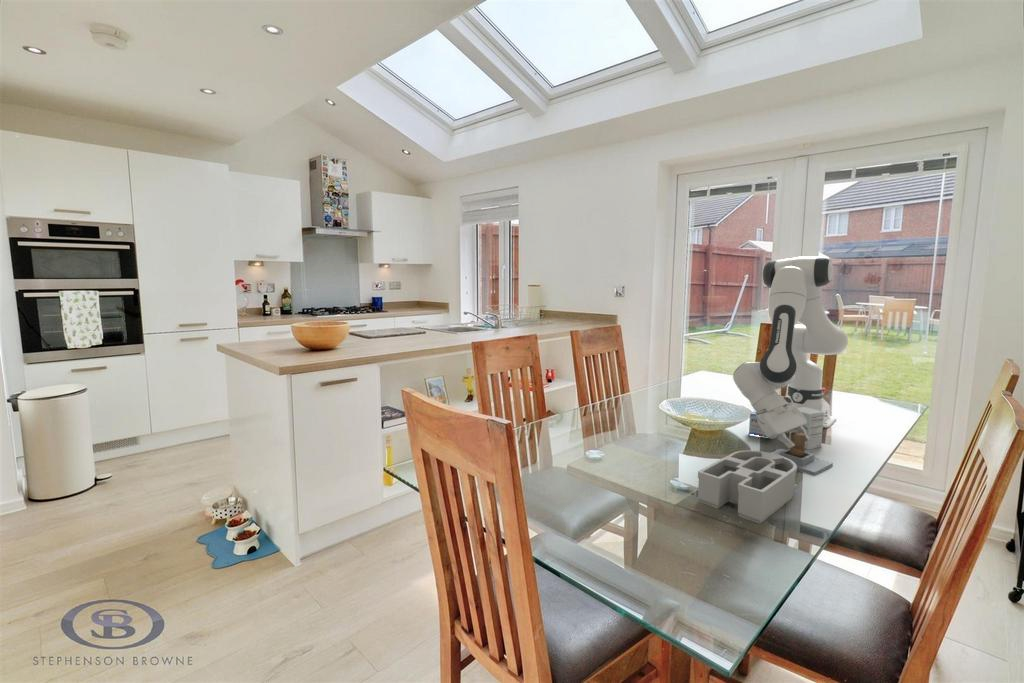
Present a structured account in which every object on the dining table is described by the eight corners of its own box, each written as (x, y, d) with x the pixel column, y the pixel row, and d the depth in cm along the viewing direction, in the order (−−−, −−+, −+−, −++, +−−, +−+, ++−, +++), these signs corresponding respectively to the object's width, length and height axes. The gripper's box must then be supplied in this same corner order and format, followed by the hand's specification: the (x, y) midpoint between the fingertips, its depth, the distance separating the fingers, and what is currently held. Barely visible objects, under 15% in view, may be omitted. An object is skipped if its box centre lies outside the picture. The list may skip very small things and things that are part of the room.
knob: (793, 455, 158) (794, 431, 157) (806, 459, 155) (808, 434, 154) (786, 458, 156) (788, 433, 155) (800, 462, 153) (801, 437, 151)
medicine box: (748, 436, 181) (749, 413, 179) (749, 433, 185) (750, 410, 183) (772, 439, 177) (774, 416, 176) (772, 436, 181) (774, 413, 180)
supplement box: (787, 443, 173) (790, 408, 171) (802, 440, 176) (804, 406, 174) (807, 450, 166) (810, 413, 165) (822, 446, 169) (824, 411, 167)
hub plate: (780, 451, 165) (780, 442, 165) (832, 466, 152) (833, 456, 152) (761, 459, 158) (761, 450, 158) (814, 475, 146) (815, 465, 145)
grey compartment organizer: (696, 502, 130) (697, 471, 129) (743, 473, 148) (745, 446, 147) (761, 526, 117) (763, 492, 116) (804, 491, 136) (806, 461, 134)
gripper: (760, 407, 153) (791, 446, 146) (793, 397, 164) (822, 432, 158) (746, 417, 157) (775, 456, 150) (778, 407, 168) (806, 442, 162)
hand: (799, 443), depth 154 cm, fingers open, 8 cm apart
